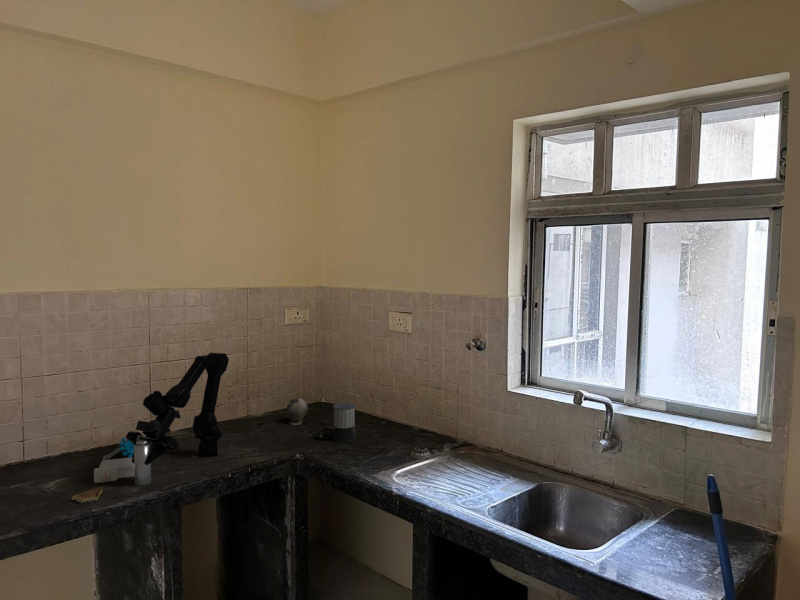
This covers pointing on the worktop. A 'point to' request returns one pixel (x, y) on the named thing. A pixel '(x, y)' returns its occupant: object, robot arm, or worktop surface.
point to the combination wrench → (112, 453)
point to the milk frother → (341, 424)
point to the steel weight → (142, 462)
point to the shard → (88, 495)
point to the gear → (126, 448)
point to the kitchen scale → (114, 470)
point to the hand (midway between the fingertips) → (139, 463)
